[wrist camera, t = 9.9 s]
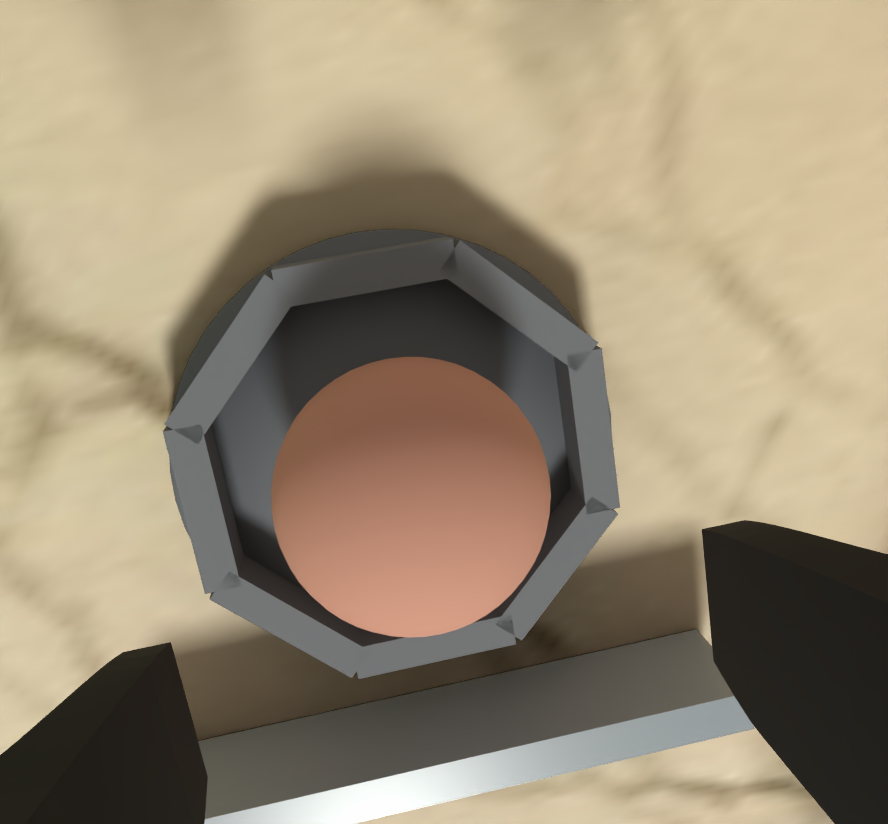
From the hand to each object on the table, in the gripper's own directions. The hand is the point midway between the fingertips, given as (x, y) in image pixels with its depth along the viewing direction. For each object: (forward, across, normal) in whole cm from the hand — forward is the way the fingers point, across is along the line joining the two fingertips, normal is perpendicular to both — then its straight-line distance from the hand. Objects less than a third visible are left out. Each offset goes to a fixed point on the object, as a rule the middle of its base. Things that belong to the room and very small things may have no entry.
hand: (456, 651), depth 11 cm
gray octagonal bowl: (+9, 0, 0) cm, 9 cm away
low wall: (+9, 0, +7) cm, 12 cm away
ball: (+9, 0, 0) cm, 9 cm away
